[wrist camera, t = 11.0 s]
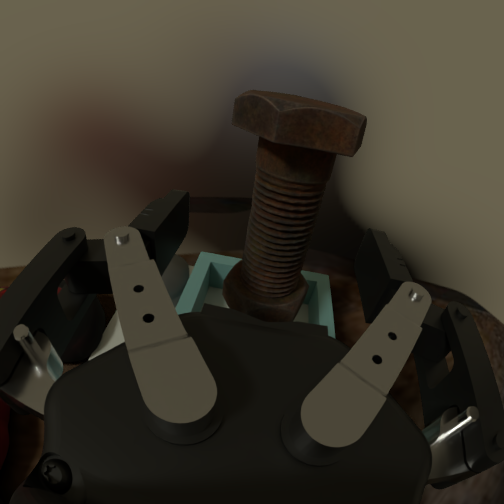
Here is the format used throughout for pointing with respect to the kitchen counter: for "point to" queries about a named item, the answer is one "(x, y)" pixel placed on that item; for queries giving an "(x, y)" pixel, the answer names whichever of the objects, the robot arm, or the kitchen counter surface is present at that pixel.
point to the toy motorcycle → (63, 357)
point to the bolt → (285, 196)
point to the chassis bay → (210, 292)
